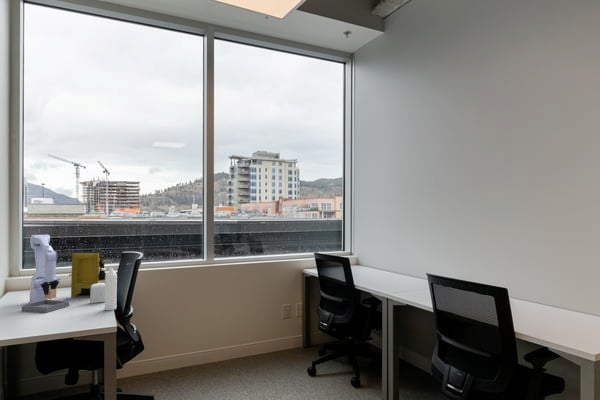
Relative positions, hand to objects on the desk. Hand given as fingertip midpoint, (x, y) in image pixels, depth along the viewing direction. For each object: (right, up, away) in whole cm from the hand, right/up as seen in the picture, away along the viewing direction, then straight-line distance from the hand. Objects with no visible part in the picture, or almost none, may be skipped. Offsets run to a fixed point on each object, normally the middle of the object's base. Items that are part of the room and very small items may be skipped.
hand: (49, 293), depth 229 cm
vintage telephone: (+6, -10, +35) cm, 37 cm away
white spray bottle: (+38, -9, -4) cm, 39 cm away
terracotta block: (0, -2, 0) cm, 2 cm away
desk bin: (-1, -8, -2) cm, 9 cm away
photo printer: (+23, -9, +14) cm, 28 cm away
